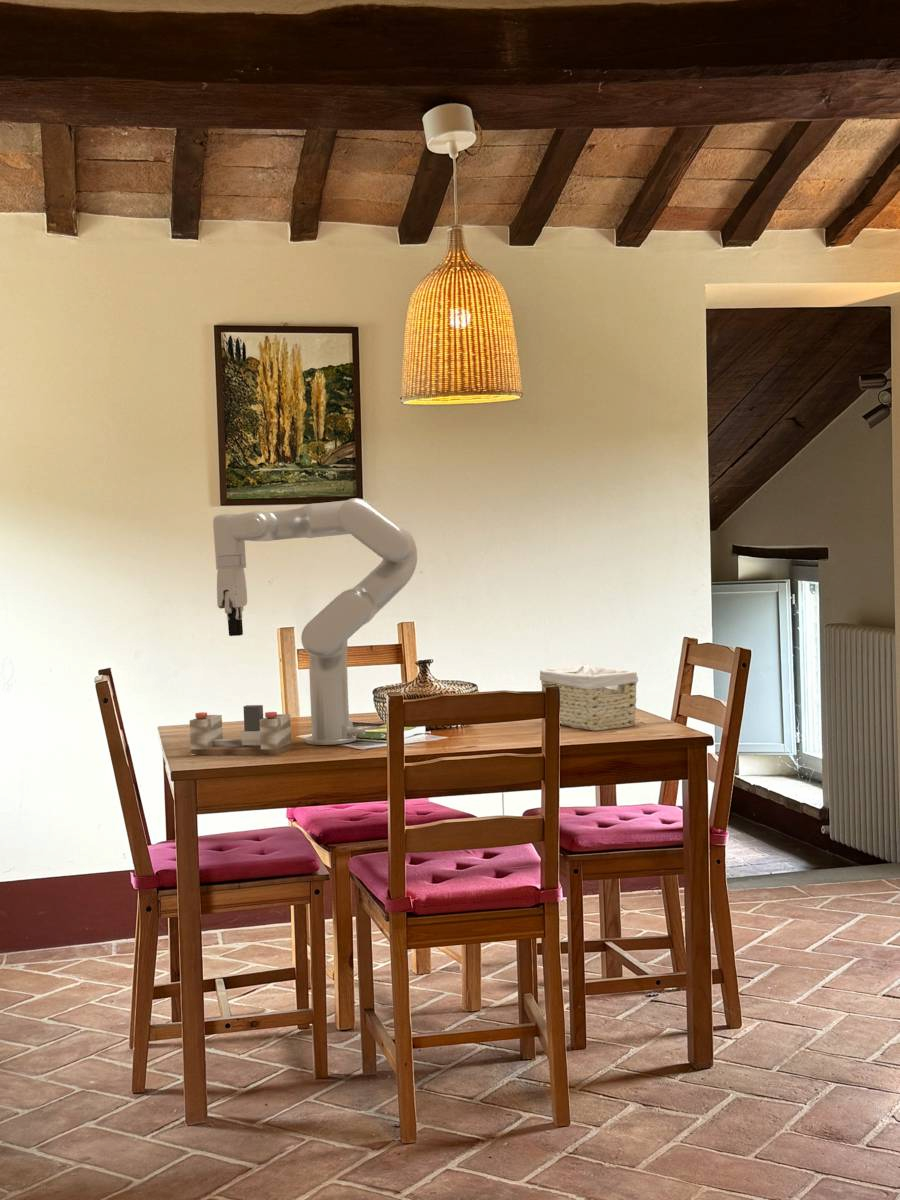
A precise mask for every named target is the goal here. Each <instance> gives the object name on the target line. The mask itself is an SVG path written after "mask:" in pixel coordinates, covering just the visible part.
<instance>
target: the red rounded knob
mask: <svg viewBox="0 0 900 1200" xmlns="http://www.w3.org/2000/svg"><path fill="white" fill-rule="evenodd" d="M194 715H195V719H196V718H198V720H204V719H205V718H206V717H207V715H208V712H207V711H206V712H205V711H201V712H196V713H195V714H194Z"/></svg>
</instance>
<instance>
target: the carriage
mask: <svg viewBox="0 0 900 1200" xmlns="http://www.w3.org/2000/svg"><path fill="white" fill-rule="evenodd" d="M263 718H264V705H263V704H247V705H244V706H243V722H244V723H243V727H244V728H243V729H244V730H241V731H240V739H241V740H242V745H261V744H260V721H259V720H261V719H263Z"/></svg>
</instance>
